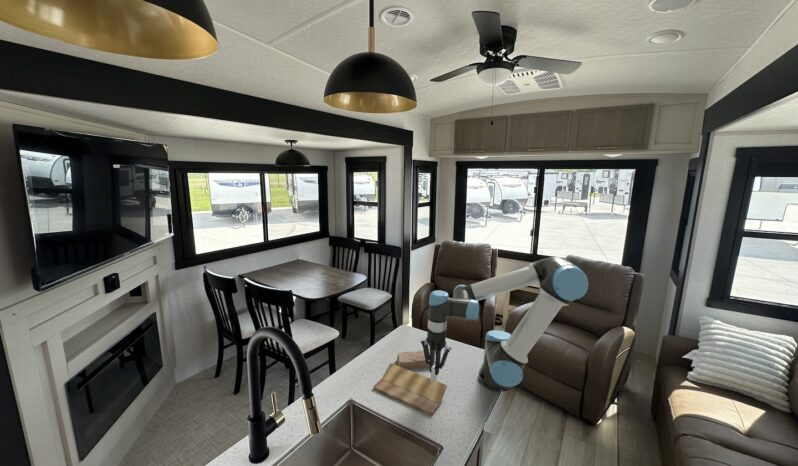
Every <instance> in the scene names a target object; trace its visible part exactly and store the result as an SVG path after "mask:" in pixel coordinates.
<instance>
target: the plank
mask: <svg viewBox="0 0 798 466" xmlns="http://www.w3.org/2000/svg"><path fill="white" fill-rule="evenodd" d="M381 379H382V380H385V381H387V382H389V383H392V384H394V385H396V386H399V387H401V388H403V389H405V390H408V391H410V392H412V393H415V394H417V395H419V396H422V397H424V398H426V399H428V400H431V401H433V402H435V403H438V404H439V406H440V405H441V403H442V401H443V398H444V396H445V393H446V390H447V389H448V386H447V384H445V383H443V382H439V381H437V380H436V381H435V382H431V377H430V378H429V377H426V376H425V375H422V374H421V373H418V372H417V373H416V372H414V371H412V370H409V369H404V368H402V367H399V366H398V364H394V363H393V362H390V363H389V365H388V367H387V368H386V371H385V372H384V374H383V376H382V378H381Z"/></svg>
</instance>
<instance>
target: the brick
mask: <svg viewBox="0 0 798 466" xmlns="http://www.w3.org/2000/svg"><path fill="white" fill-rule="evenodd" d="M429 353H430V351H429ZM396 362H397V366H399V367H402V368H404V369H407V370H409V369H420V368H421V369H423V368H430V366H429V364H426V362H425V356H424V350H418V351H403V352H398V353H397V355H396Z"/></svg>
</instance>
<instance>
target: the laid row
mask: <svg viewBox="0 0 798 466" xmlns="http://www.w3.org/2000/svg"><path fill="white" fill-rule="evenodd" d="M372 389H373V390H375V391H377V392H379V393H381V394H383V395H386V396H387V397H390V398H391V399H394V400H396V401H398V402H401V403H403V404H404V405H407V406H409V407H410V408H414V409H416V410H418V411H419V412H422V413H424V414H426V415H428V416H431V417H433V416H434V415H435V413H436V411H438V408H439V407H440V405H439V404H438V403H435V402H433V401H431V400H428V399H426V398H424V397H422V396H419V395H417V394H415V393H412V392H410V391H408V390H405V389H403V388H401V387H399V386H396V385H394V384H392V383H389V382H387V381H385V380H382V378H381V379H379V380H378V381H377V382H376V383H375V384H374V385H373V386H372Z"/></svg>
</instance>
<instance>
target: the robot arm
mask: <svg viewBox="0 0 798 466" xmlns="http://www.w3.org/2000/svg"><path fill="white" fill-rule="evenodd" d="M531 285H538V286H539V291H540V292H539V294H538V295H537V296H536V298H535V300H534V301H533V303H532V304H531V306H530V307H529V309H528V310H527V311H526V313H525V314H524V316H523V317H522V318H521V320H520V321H519V323H518V324H517V326H516V328H515V329H514V330H513V332H511V333H509V332H506V331H503V330H499V329H498V330H497V329H493V330H489V331H488V332H486V333H485V337H484V339H485V341H484V350H483V351H484V352H483V353H484V354H483V362H482V364H481V366H480V369H479V371H478V381H479V382H480V383H481V385H482V386H483V387H485V388H487V389H489V390H491V391H495V392H507V391H510V390H511V389H513V387H515V386H517V385H519V384H520V383H521V382H522V381H523V378H524V377H523V376H524V372H523V369H524V367H525V366H526V365H527V363H528V362H529V359H528V354H529V353H530V352H531V350H532V349H533V347H534V346H535V344H536V343H538V340H539V339H540V338H541V337H542V335H543V333H544V332H545V331H546V329H547V328H548V327H549V326H550V324H551V322H552V321H553V320H554V318H555V317H556V316H557V314H558V313H559V311H560V310H561V309H562V307H567V306H570V304H571V303H572V301H575V300H579V299H581V298H583V297H584V296H585V295H586V293H587V291H588V289H589V281H588V277H587V275H586V273H585V272H584V271H583V270H582V268H580V267H578V265H576V264H574V263H572V262H571V261H569V260H568V259H567V258H565V257H561V256H551V257H546V258H541V259H539V260H537V261H532V262H530V263H528V266H526V267H522V268H520V269H516V270H513V271H508V272H507V273H503V274H500V275H497V276H494V277H490V278H487V279H485V280H481V281H478V282H475V283H471V284H468V285H466V284H458V285H457V286H455V287H454V289H453V293H452V297H449V293H448V292H447V291H443V290H439V289H438V290H437V289H436V290H433V291H431V292H430V294H429V299H428V300H429V302H428V314H427V315H428V318H427V334H426V338H423V339H422V340H420V344H421V345H422V349H423V350H422V351H424V356H425V362H426V364H429V366H430V367H429V371H428V372H429V373H430V379H431V382H435V381H437V378H438V375H439V373H440V369H441V370H442V369H443V367H444V366H445V365H446V364H445V363H446V361H447V358H448V355H449V353H450V351H451V350H452V347H450V346H448V345H447V341H446V339H447V337H446V336H447V324H448V323H447V322H448V321H447V320H448V318H456V319H465V320H477V319H478V317H479V313H480V305H479V304H480V303H479V301H481V300H485V299H488V298H492V297H495V296H499V295H502V294H505V293H509V292H512V291H515V290H520V289H522V288H525V287H529V286H531ZM442 350H443V355H442V357H441V354H442ZM429 352H430V353H429ZM501 390H502V391H501Z"/></svg>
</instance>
